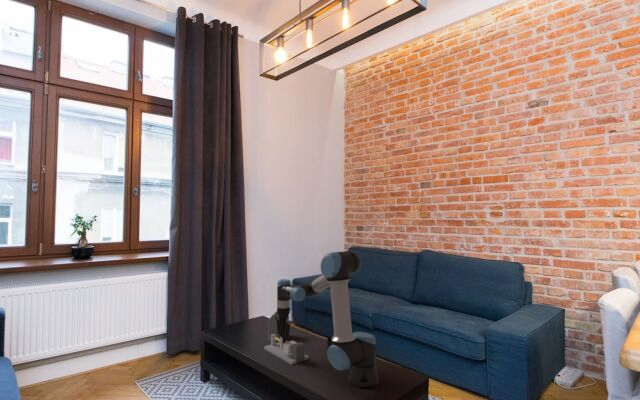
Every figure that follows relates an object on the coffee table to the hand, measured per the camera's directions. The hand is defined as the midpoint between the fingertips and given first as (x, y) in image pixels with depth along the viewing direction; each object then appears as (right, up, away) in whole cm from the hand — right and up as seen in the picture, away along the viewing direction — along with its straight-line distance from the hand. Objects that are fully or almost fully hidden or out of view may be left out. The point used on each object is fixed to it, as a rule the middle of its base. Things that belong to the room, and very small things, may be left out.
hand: (282, 347), depth 205 cm
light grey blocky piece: (+1, -5, +4) cm, 6 cm away
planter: (-8, -6, +31) cm, 33 cm away
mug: (+31, -6, +2) cm, 31 cm away
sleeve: (+4, -1, -2) cm, 5 cm away
